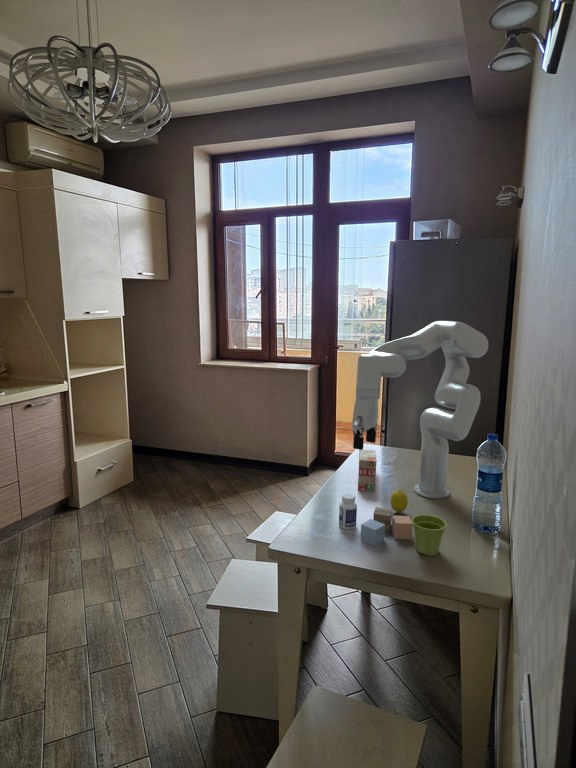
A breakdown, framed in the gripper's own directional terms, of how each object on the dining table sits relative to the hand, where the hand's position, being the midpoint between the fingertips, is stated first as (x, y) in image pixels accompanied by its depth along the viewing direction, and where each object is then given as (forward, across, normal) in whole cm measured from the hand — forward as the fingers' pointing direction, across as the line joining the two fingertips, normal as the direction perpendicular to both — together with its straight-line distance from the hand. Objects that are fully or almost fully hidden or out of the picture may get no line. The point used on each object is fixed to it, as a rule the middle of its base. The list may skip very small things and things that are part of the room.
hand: (364, 445), depth 152 cm
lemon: (+23, -8, +10) cm, 27 cm away
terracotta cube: (+23, +6, +16) cm, 29 cm away
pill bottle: (+24, +10, 0) cm, 26 cm away
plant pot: (+24, +11, +25) cm, 36 cm away
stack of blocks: (+23, -28, -10) cm, 38 cm away
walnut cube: (+23, +4, +9) cm, 26 cm away
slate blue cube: (+24, +14, +10) cm, 29 cm away
